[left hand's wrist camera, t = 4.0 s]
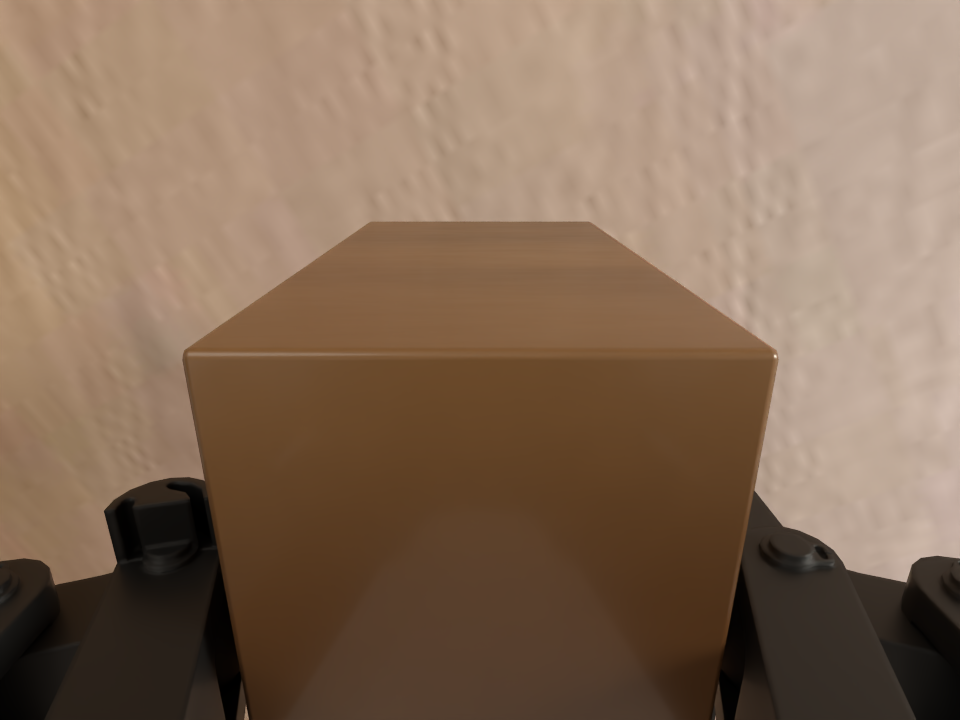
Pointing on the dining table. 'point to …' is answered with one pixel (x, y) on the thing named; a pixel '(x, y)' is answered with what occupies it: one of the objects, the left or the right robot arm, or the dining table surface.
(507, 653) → the bar
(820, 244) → the dining table surface
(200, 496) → the left robot arm
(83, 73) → the dining table surface
